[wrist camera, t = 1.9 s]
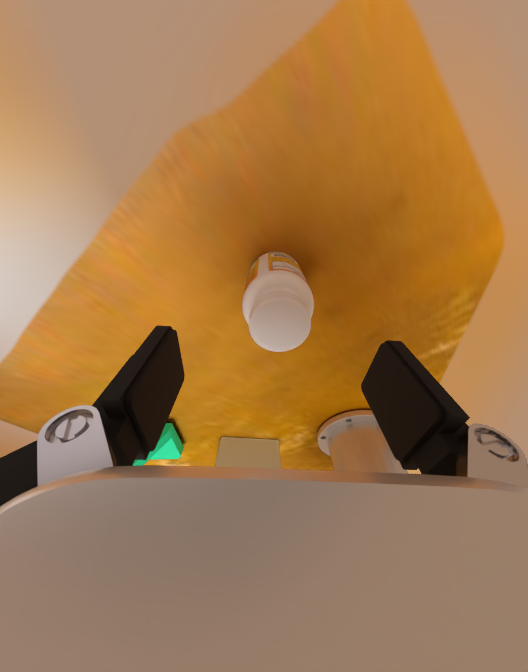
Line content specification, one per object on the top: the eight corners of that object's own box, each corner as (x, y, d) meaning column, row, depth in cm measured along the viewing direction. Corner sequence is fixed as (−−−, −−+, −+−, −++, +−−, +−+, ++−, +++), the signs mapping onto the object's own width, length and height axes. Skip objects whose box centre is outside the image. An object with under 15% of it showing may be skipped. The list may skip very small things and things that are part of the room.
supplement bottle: (261, 310, 24) (259, 370, 16) (238, 265, 21) (221, 308, 13) (308, 291, 22) (332, 345, 14) (290, 240, 20) (307, 271, 12)
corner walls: (279, 439, 37) (280, 470, 33) (270, 483, 46) (270, 512, 42) (220, 436, 37) (213, 467, 33) (222, 481, 46) (218, 510, 42)
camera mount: (122, 445, 39) (82, 515, 31) (102, 419, 35) (49, 492, 26) (187, 443, 39) (164, 514, 30) (174, 417, 34) (143, 490, 26)
